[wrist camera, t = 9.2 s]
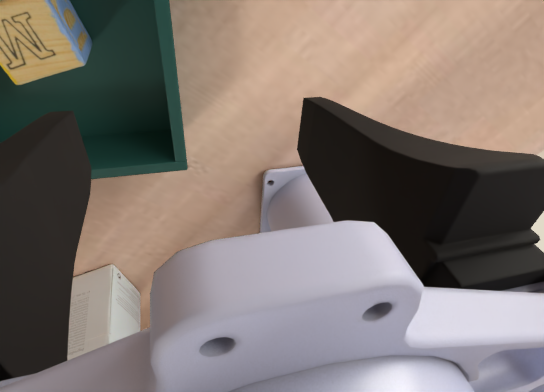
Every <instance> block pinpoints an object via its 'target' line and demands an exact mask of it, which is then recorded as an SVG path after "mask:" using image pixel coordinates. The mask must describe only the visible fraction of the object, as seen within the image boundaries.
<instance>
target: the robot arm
mask: <svg viewBox="0 0 544 392" xmlns="http://www.w3.org/2000/svg"><path fill="white" fill-rule="evenodd" d="M297 150H298V153H299V156H300V159H301V162H302V164H303V166H299V167H289V168H279V169H270V170H267V171H265V173H264V174H263V187H262V204H261V220H260V233H257V234H250V235H243V236H237V237H230V238H223V239H216V240H210V241H207V242H204V243H201V244H198V245H195V246H192V247H189V248H186V249H183V250H180V251H178V252H176V253H175V254H174V255H173V256H172V257H171V258H170V259H169V260H167V261H166V262H165V263H164V264H163V265H162V266H161V267H160V268H158V269H157V270H156V271H155V272H154V276H153V281H152V287H151V292H150V327H149V328H147V329H144V330H142V331H139V332H137V333H134V334H132V335H130V336H127V337H125V338H122V339H120V340H117V341H115V342H112V343H110V344H107V345H105V346H102V347H100V348H97V349H95V350H92V351H90V352H87V353H85V354H82V355H80V356H78V357H75V358H73V359H70V360H68V361H67V355H68V335H69V317H70V304H71V291H72V281H73V271H74V262H75V257H76V251H77V247H78V243H79V239H80V235H81V230H82V226H83V222H84V218H85V214H86V209H87V205H88V201H89V196H90V187H91V165H90V162H89V159H88V156H87V152H86V149H85V146H84V143H83V140H82V137H81V134H80V131H79V128H78V125H77V122H76V118H75V115H74V112H73V111H58V112H49V113H47V114H45V115H43V116H41V117H39V118H38V119H36V120H35V121H33V122H32V123H30V124H29V125H27V126H26V127H24V128H23V129H21V130H20V131H18V132H17V133H15V134H14V135H12V136H11V137H9V138H8V139H6V140H5V141H3V142H2V143H0V392H544V253H543V252H542V251H541V250H540V249H539V248H538V247H537V246H536V245H535V243H538V241H539V240H540V238H539V236H538V235H537V234H536V233H535V232H534V231H532V230H531V229H530V228H531V227H532V226H533V224H534V223H535V222H536V220H537V219H538V218H539V216H540V215H541V214H542V212H543V211H544V159H542V158H541V157H539V156H537V155H533V154H524V153H512V152H501V151H491V150H483V149H477V148H470V147H464V146H458V145H453V144H448V143H444V142H440V141H435V140H431V139H427V138H423V137H420V136H416V135H413V134H410V133H407V132H404V131H401V130H398V129H395V128H392V127H390V126H387V125H385V124H382V123H380V122H377V121H375V120H373V119H370V118H368V117H366V116H364V115H362V114H359V113H357V112H355V111H353V110H351V109H349V108H347V107H344V106H342V105H340V104H338V103H336V102H333V101H331V100H328V99H325V98H322V97H313V98H304V100H303V107H302V115H301V123H300V131H299V139H298V146H297ZM270 180H272V182H270V183H267V182H268V181H270Z"/></svg>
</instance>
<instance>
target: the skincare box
mask: <svg viewBox="0 0 544 392" xmlns="http://www.w3.org/2000/svg"><path fill="white" fill-rule="evenodd" d="M139 331H140V293H139V291H138V290H137V289H136V288H135V287H134V286H133V285H132V284H131V283H130V282H129V280H128V279H127V278H126V277H125V276H124V275H123V274H122V273H121V272H120V271H119V270H118V269H117V268H116V266H114V265H113V264H111V265H108V266H105V267H102V268H99V269H96V270H93V271H90V272H88V273H85V274H82V275H79V276H76V277H73V281H72V291H71V304H70V317H69V335H68V355H67V361H68V360H70V359H73V358H75V357H78V356H80V355H82V354H85V353H87V352H90V351H92V350H95V349H97V348H100V347H102V346H105V345H107V344H110V343H112V342H115V341H117V340H120V339H122V338H125V337H127V336H130V335H132V334H134V333H137V332H139Z"/></svg>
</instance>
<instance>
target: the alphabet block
mask: <svg viewBox="0 0 544 392" xmlns="http://www.w3.org/2000/svg"><path fill="white" fill-rule="evenodd" d="M91 47H92V40H91V38H90V36H89V34H88V32H87V30H86V29H85V27H84V25H83V23H82V22H81V20H80V18H79V17H78V15H77V13H76V11H75V9H74V7H73V6H72V4H71V2H70V0H0V65H1V67H2V68H3V69H4V71H5V72H6V73H7V74H8V76H9V77H10V78H11V80H12V81H13V82H14V83H15V84H16V85H21V84H25V83H28V82H31V81H34V80H37V79H41V78H44V77H47V76H51V75H54V74H58V73H61V72H64V71H68V70H71V69H74V68H77V67H82V66H84V65H85V64H86V62H87V60H88V56H89V54H90V51H91Z"/></svg>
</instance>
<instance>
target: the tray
mask: <svg viewBox="0 0 544 392" xmlns="http://www.w3.org/2000/svg"><path fill="white" fill-rule="evenodd" d="M70 2H71V4H72V6H73V7H74V9H75V11H76V13H77V15H78V17H79V18H80V20H81V22H82V23H83V25H84V27H85V29H86V30H87V32H88V34H89V36H90V38H91V40H92V47H91V51H90V54H89V56H88V60H87V62H86V64H85V65H84V66H82V67H77V68H74V69H71V70H68V71H64V72H61V73H58V74H54V75H51V76H47V77H44V78H41V79H37V80H34V81H31V82H28V83H25V84H21V85H16V84H15V83H14V82H13V81H12V80H11V78H10V77H9V76H8V74H7V73H6V72H5V71H4V69H3V68H2V67H1V65H0V143H2V142H3V141H5V140H6V139H8V138H9V137H11V136H12V135H14V134H15V133H17V132H18V131H20V130H21V129H23V128H24V127H26V126H27V125H29V124H30V123H32V122H33V121H35V120H36V119H38V118H39V117H41V116H43V115H45V114H47V113H49V112H58V111H73V112H74V115H75V118H76V122H77V125H78V128H79V131H80V134H81V137H82V140H83V143H84V146H85V149H86V152H87V156H88V159H89V162H90V165H91V179H98V178H108V177H118V176H128V175H139V174H149V173H159V172H169V171H179V170H187V169H188V168H187V159H186V149H185V140H184V131H183V122H182V113H181V104H180V95H179V86H178V77H177V68H176V58H175V49H174V40H173V31H172V22H171V13H170V4H169V0H70Z"/></svg>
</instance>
